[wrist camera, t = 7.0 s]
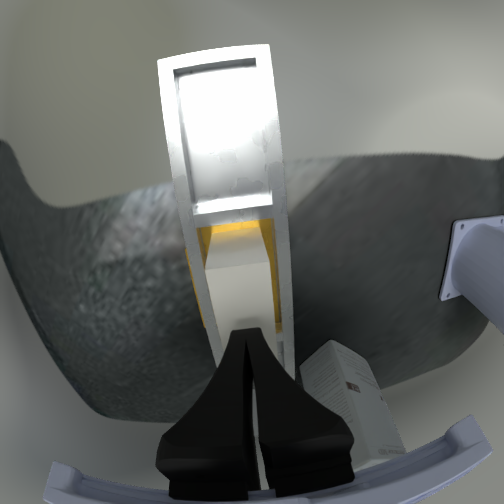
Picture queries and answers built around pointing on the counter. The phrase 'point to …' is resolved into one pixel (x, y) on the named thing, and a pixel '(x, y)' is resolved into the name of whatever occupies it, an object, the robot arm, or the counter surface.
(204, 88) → the tray
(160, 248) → the counter surface
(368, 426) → the skincare box
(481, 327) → the counter surface
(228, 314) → the tall white prism
